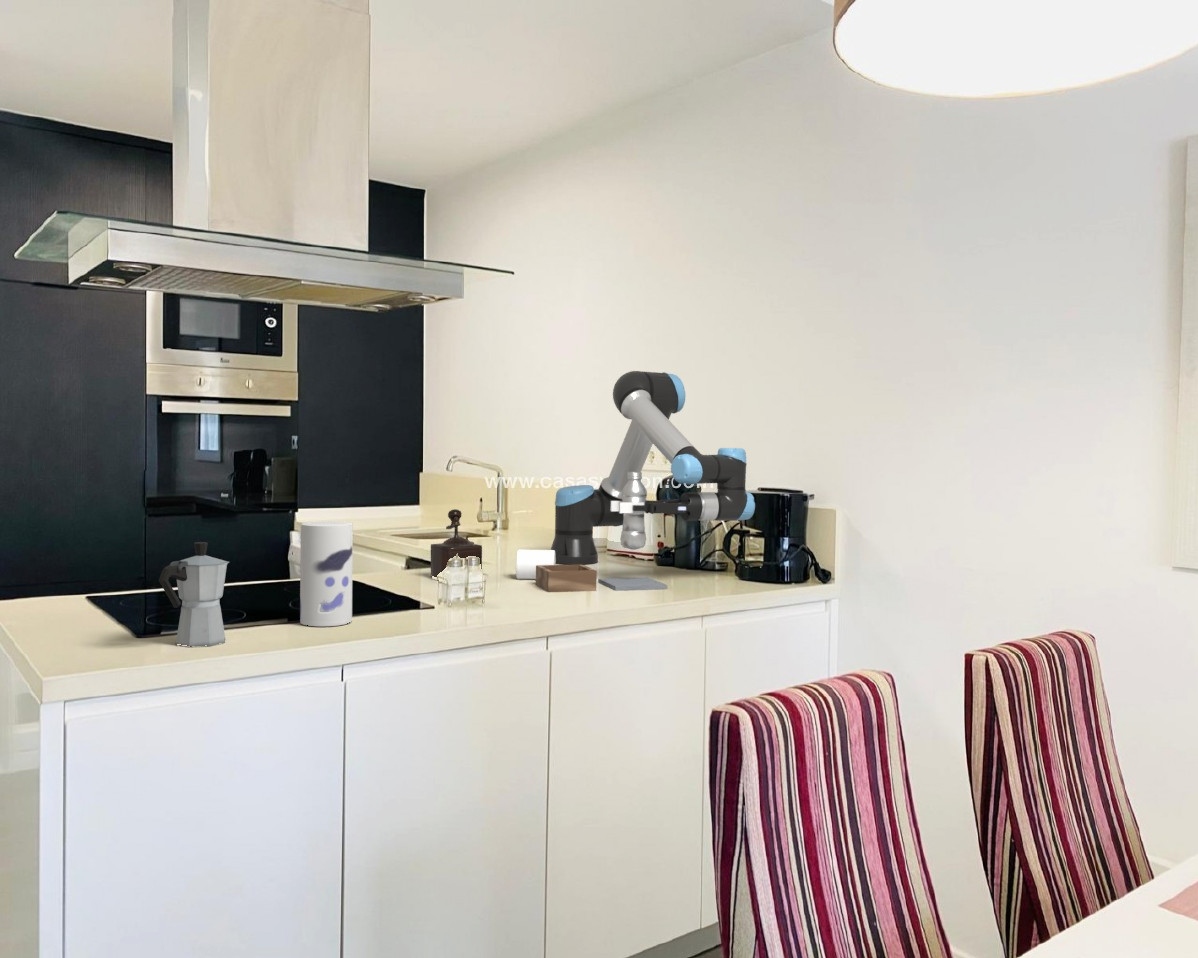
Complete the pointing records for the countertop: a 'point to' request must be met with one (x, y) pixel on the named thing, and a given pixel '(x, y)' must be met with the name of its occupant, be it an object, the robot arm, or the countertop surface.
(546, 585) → the holder
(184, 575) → the coffee maker
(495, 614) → the countertop surface
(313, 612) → the container
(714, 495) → the robot arm
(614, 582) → the mat
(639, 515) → the plastic bottle
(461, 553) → the manual coffee grinder
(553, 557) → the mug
